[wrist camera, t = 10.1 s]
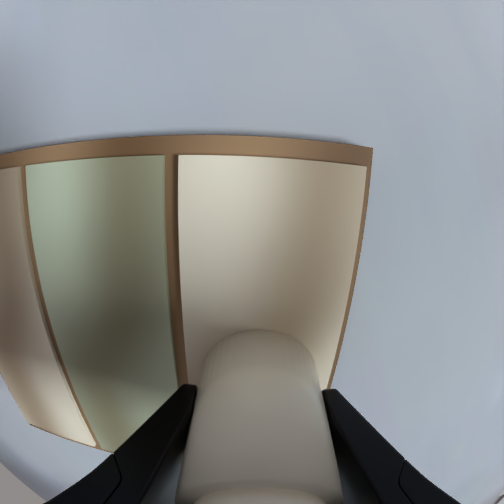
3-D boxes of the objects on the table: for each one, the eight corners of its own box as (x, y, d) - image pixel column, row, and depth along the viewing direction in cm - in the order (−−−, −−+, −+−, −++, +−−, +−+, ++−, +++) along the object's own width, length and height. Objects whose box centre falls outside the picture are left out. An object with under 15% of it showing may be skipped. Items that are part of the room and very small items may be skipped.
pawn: (324, 330, 9) (388, 562, 2) (306, 411, 10) (329, 588, 3) (199, 326, 9) (138, 565, 2) (204, 407, 10) (176, 586, 3)
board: (365, 147, 8) (375, 148, 7) (301, 463, 12) (302, 475, 12) (-41, 164, 8) (-54, 167, 7) (34, 418, 12) (28, 426, 12)
